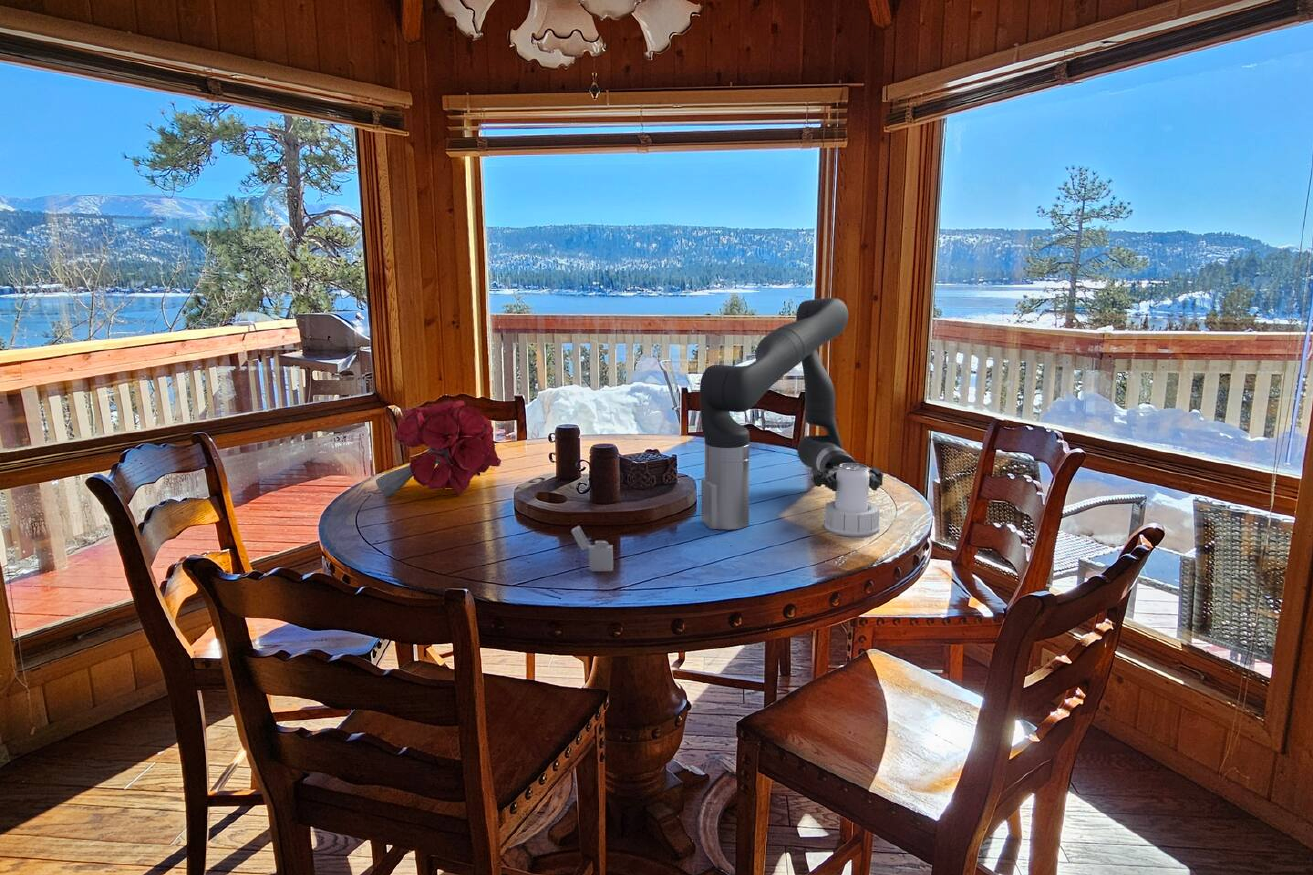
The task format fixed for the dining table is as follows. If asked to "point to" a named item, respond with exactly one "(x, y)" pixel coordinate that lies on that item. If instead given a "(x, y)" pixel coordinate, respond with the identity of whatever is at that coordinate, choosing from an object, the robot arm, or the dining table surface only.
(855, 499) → the can
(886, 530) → the dining table surface
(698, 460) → the dining table surface
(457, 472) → the bouquet
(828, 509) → the holder
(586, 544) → the lighter
